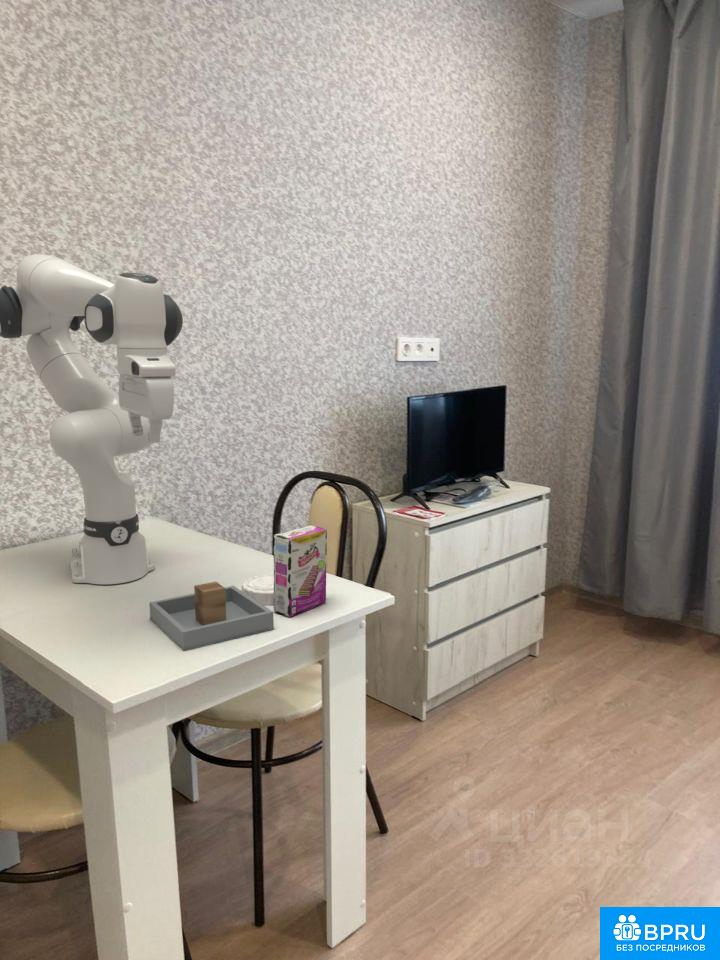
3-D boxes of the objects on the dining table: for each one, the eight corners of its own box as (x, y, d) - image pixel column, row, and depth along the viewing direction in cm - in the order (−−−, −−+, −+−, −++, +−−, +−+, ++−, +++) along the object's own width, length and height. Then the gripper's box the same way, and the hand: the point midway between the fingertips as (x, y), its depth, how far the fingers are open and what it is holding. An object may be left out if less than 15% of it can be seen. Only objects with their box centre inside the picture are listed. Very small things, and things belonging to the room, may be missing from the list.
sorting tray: (150, 619, 147) (149, 602, 146) (234, 601, 157) (233, 585, 156) (183, 650, 132) (182, 632, 132) (273, 629, 142) (273, 611, 141)
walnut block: (195, 619, 145) (194, 585, 144) (217, 615, 148) (215, 581, 146) (204, 627, 141) (203, 592, 140) (226, 622, 144) (225, 587, 143)
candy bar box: (290, 618, 148) (289, 539, 144) (273, 612, 151) (271, 534, 148) (328, 603, 156) (327, 527, 153) (310, 598, 159) (310, 523, 156)
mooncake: (262, 584, 168) (262, 569, 168) (308, 593, 163) (308, 577, 162) (230, 601, 158) (230, 584, 157) (278, 610, 153) (278, 594, 152)
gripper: (108, 361, 143) (112, 432, 146) (143, 367, 126) (146, 447, 129) (141, 361, 146) (144, 430, 149) (179, 367, 130) (181, 445, 133)
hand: (145, 438), depth 139 cm, fingers open, 8 cm apart
